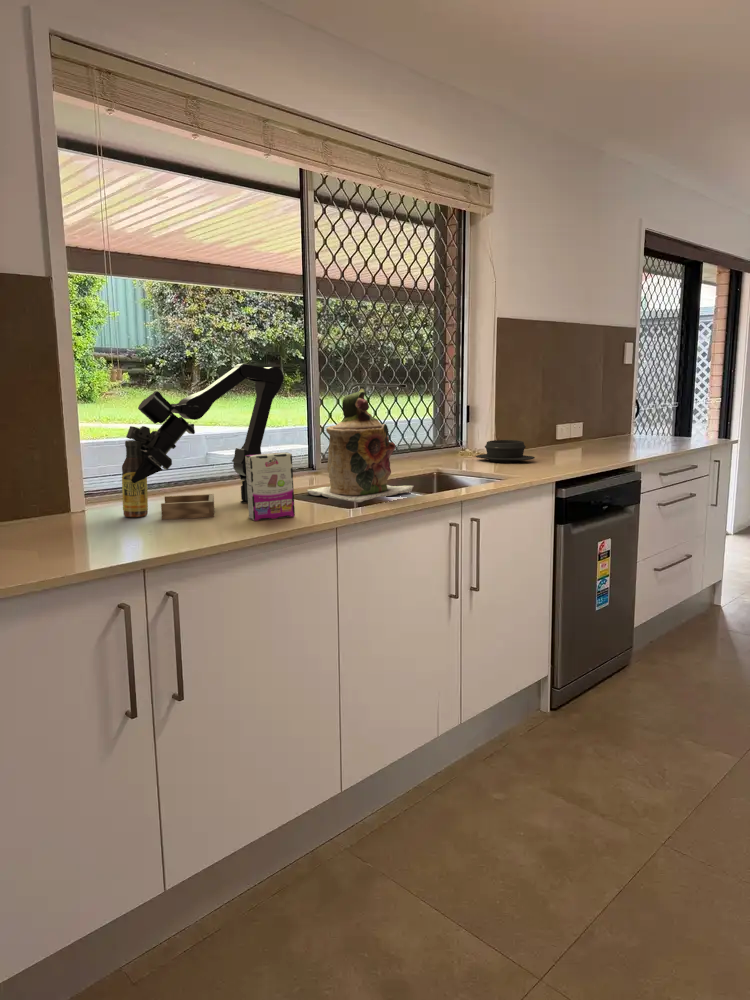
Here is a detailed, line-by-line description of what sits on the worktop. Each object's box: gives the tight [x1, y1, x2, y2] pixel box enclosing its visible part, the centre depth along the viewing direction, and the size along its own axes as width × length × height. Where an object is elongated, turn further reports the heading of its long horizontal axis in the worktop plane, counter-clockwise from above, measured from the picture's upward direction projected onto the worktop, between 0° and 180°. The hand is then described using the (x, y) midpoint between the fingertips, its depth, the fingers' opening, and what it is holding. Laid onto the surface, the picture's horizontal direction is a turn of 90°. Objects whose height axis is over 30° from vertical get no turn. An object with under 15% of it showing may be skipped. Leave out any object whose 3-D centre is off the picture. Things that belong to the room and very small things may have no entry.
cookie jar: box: [306, 388, 414, 503], centre depth 214 cm, size 25×25×32 cm
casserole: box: [475, 439, 536, 464], centre depth 293 cm, size 25×19×8 cm
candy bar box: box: [245, 451, 296, 522], centre depth 179 cm, size 11×5×16 cm, turn 118°
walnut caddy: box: [160, 493, 215, 520], centre depth 187 cm, size 13×13×4 cm
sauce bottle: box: [121, 439, 149, 519], centre depth 183 cm, size 7×6×20 cm
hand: (128, 480), depth 183 cm, fingers closed on sauce bottle, 6 cm apart
